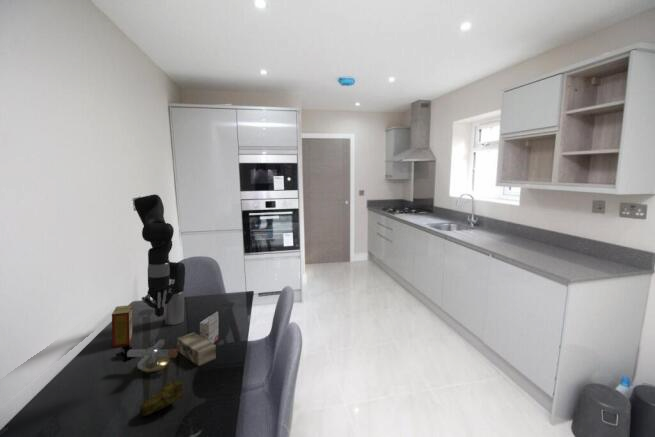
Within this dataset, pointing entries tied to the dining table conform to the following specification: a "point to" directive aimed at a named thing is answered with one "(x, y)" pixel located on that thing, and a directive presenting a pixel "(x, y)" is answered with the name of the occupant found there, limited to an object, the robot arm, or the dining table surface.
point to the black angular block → (124, 353)
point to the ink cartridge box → (210, 328)
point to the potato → (162, 398)
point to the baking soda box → (122, 326)
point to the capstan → (153, 357)
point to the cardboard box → (196, 348)
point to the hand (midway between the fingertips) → (159, 315)
